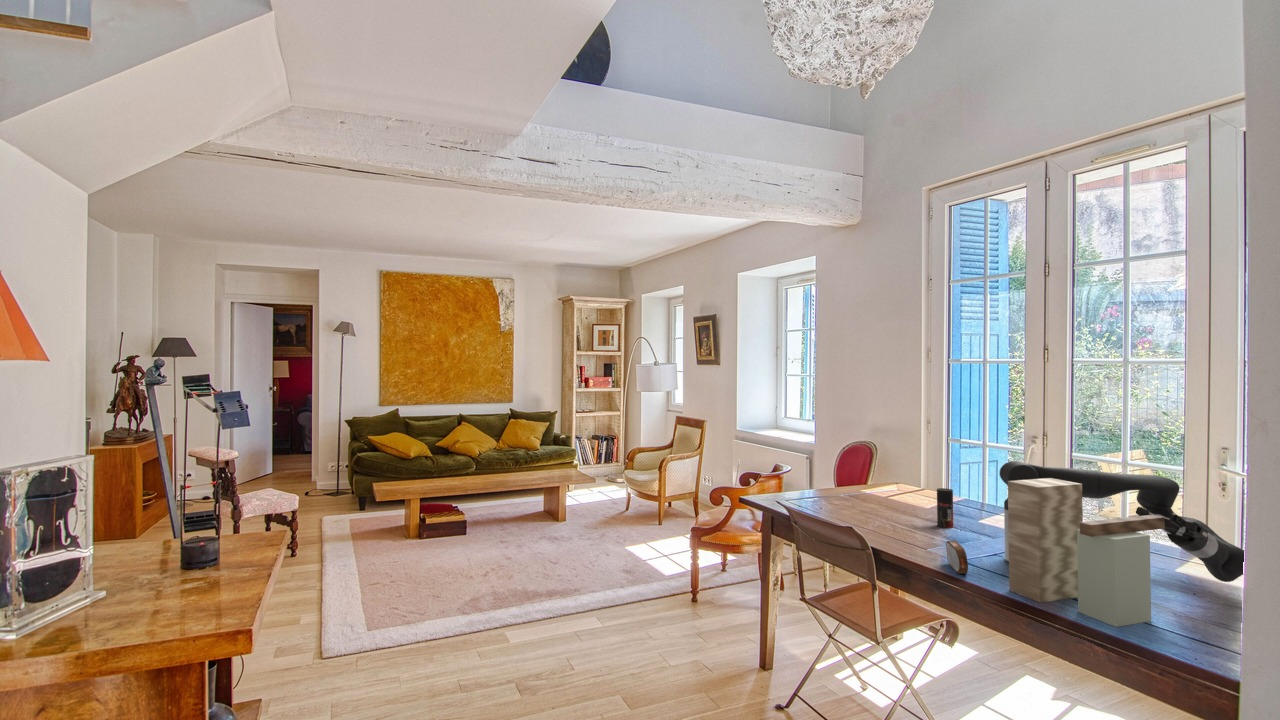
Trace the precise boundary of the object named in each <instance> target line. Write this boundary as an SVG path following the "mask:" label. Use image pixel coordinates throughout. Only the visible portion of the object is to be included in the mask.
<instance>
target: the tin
mask: <svg viewBox="0 0 1280 720" xmlns="http://www.w3.org/2000/svg"><path fill="white" fill-rule="evenodd" d="M945 547H946V548H945V549H946V558H947V562H948V564H949V566H950V567H951V568H952V569H953V570H954V572H955V573H956V572H957V573H956V574H957V575H958V574H959V575H962V574H963V575H967V574H968V572H969V561H968V556H967V554H966V553H967V552H966V551H965V549H964V547H963V546H962V545H961V544H960V543H959V542H958V541H957V540H955V539H954V540H947V541H946V542H945Z"/></svg>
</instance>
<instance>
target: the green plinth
mask: <svg viewBox="0 0 1280 720" xmlns="http://www.w3.org/2000/svg"><path fill="white" fill-rule="evenodd" d="M1077 558H1078V597H1077V600H1078V601H1077V603H1078V605H1077V609H1078V610H1077V612H1078V613H1079V614H1083V615H1085V616H1088V617H1090V618H1093V619H1095V620H1097V621H1101V622H1103V623H1105V624H1108V625H1110V626H1113V627H1116V628H1118V627H1123V626H1124V627H1125V626H1129V625H1136V624H1137V625H1138V624H1144V623H1148V622H1152V597H1151V596H1152V593H1151V592H1152V590H1151V589H1152V588H1151V587H1152V586H1151V536H1150V535H1149V534H1146V533H1141V532H1139V531H1138V532H1129V533H1120V534H1111V535H1102V536H1094V537H1090V536H1086V535H1083V534H1080V529H1077Z"/></svg>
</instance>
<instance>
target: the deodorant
mask: <svg viewBox="0 0 1280 720" xmlns="http://www.w3.org/2000/svg"><path fill="white" fill-rule="evenodd" d="M936 518H937V519H936V520H937V524H936V525H937V527H938V526H939V528H942V527H943V528H942V529H953V528H954V490H953V489H952V488H944V487H941V488H936Z"/></svg>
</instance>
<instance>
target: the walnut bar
mask: <svg viewBox="0 0 1280 720" xmlns="http://www.w3.org/2000/svg"><path fill="white" fill-rule="evenodd" d="M1161 529H1165V517H1161V516H1156V515H1145V516H1139V515H1137V516H1127V517H1119V518H1108V519H1107V518H1106V519H1097V520H1090V521H1083V522H1080V534H1083V535H1086V536H1090V537H1094V536H1102V535H1111V534H1120V533H1129V532H1138V533H1139V532H1146V531H1155V530H1161Z"/></svg>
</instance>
